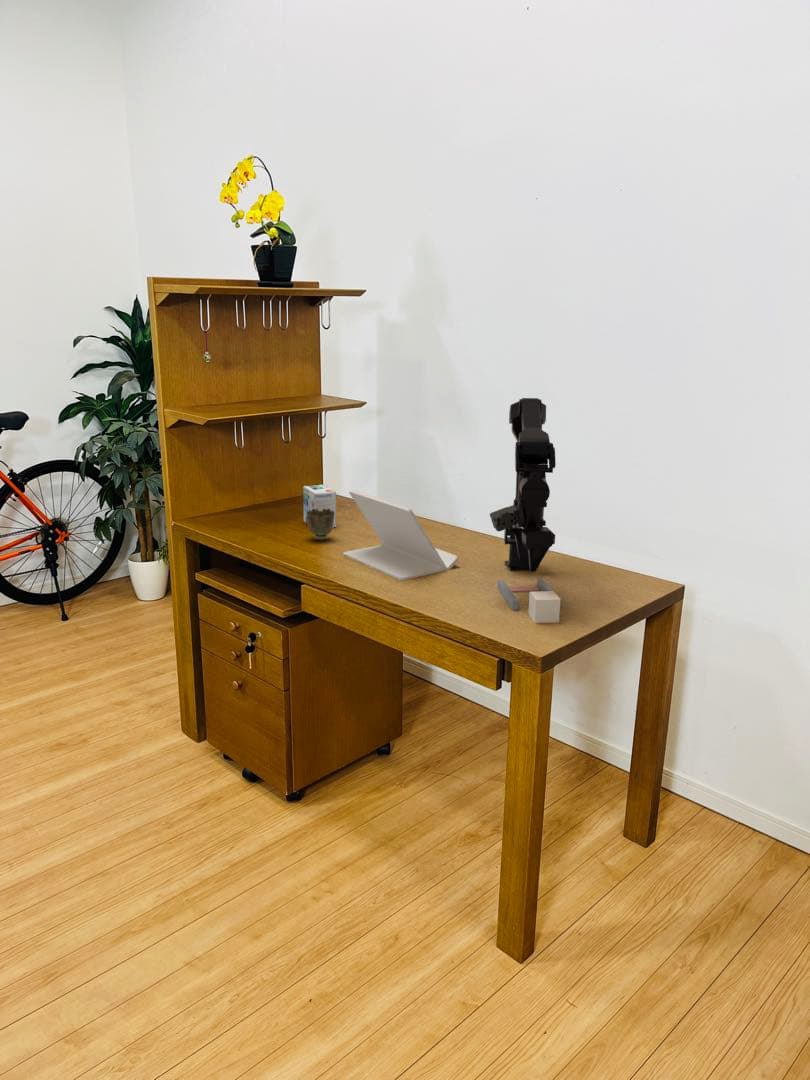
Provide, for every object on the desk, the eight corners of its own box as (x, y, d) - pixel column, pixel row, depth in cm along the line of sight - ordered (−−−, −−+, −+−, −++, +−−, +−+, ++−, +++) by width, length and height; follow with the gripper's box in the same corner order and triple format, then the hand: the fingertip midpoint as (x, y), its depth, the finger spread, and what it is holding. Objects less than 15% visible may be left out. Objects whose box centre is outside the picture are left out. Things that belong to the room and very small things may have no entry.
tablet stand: (400, 581, 190) (401, 510, 185) (341, 555, 209) (341, 490, 204) (459, 568, 200) (462, 500, 196) (398, 544, 219) (399, 482, 215)
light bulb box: (302, 521, 241) (302, 485, 238) (324, 519, 243) (324, 484, 240) (314, 530, 231) (314, 493, 228) (337, 528, 234) (336, 491, 231)
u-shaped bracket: (497, 588, 185) (497, 579, 185) (542, 586, 187) (542, 578, 186) (512, 609, 172) (512, 601, 172) (560, 608, 173) (561, 599, 173)
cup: (335, 536, 226) (335, 507, 223) (334, 543, 219) (333, 514, 216) (308, 536, 225) (307, 507, 223) (306, 543, 218) (305, 514, 216)
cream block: (528, 614, 170) (529, 591, 169) (551, 613, 171) (553, 591, 169) (534, 623, 165) (536, 599, 164) (558, 622, 166) (560, 599, 164)
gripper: (484, 486, 183) (482, 553, 187) (504, 506, 165) (500, 579, 169) (533, 486, 184) (529, 552, 188) (558, 505, 166) (553, 578, 171)
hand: (527, 565), depth 179 cm, fingers open, 9 cm apart
